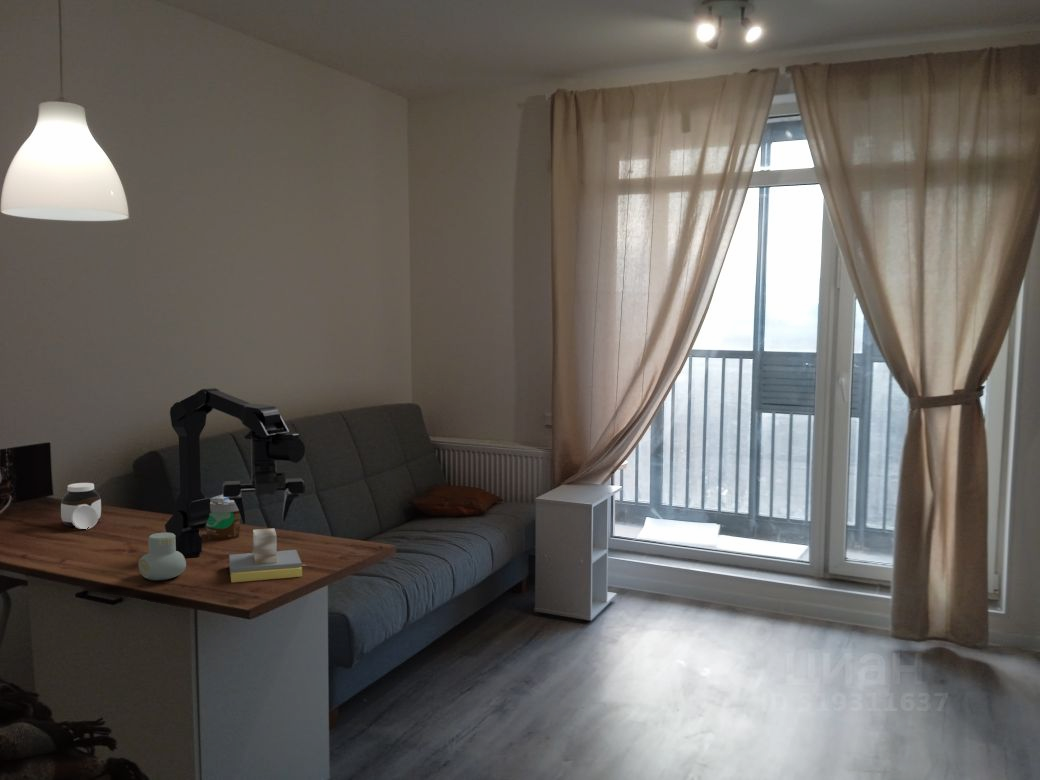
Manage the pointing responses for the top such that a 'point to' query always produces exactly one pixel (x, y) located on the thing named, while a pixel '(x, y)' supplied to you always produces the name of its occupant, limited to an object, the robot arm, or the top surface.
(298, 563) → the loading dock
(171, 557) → the air freshener
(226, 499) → the medicine box
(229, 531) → the food container
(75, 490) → the spread jar
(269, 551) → the white milk carton
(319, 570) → the top surface
